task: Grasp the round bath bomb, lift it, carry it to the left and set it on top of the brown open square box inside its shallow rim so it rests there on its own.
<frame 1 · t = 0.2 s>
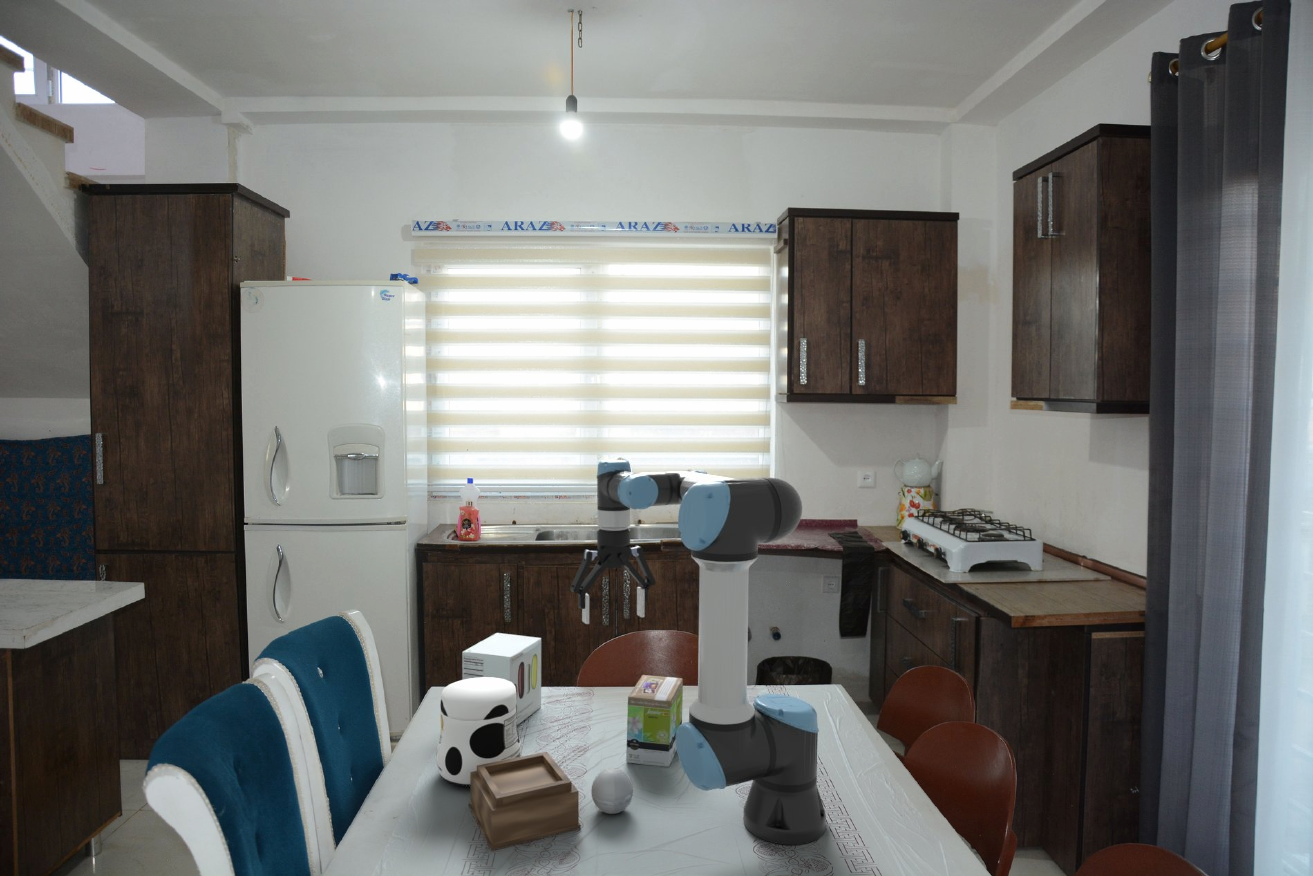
hand: (613, 619, 187), 28 cm above the table, fingers open, 13 cm apart
milk container: (479, 775, 170), on the table
bath bomb: (612, 812, 155), on the table
supplement box: (503, 716, 201), on the table
brown open square box: (523, 817, 152), on the table
tea box: (655, 752, 181), on the table
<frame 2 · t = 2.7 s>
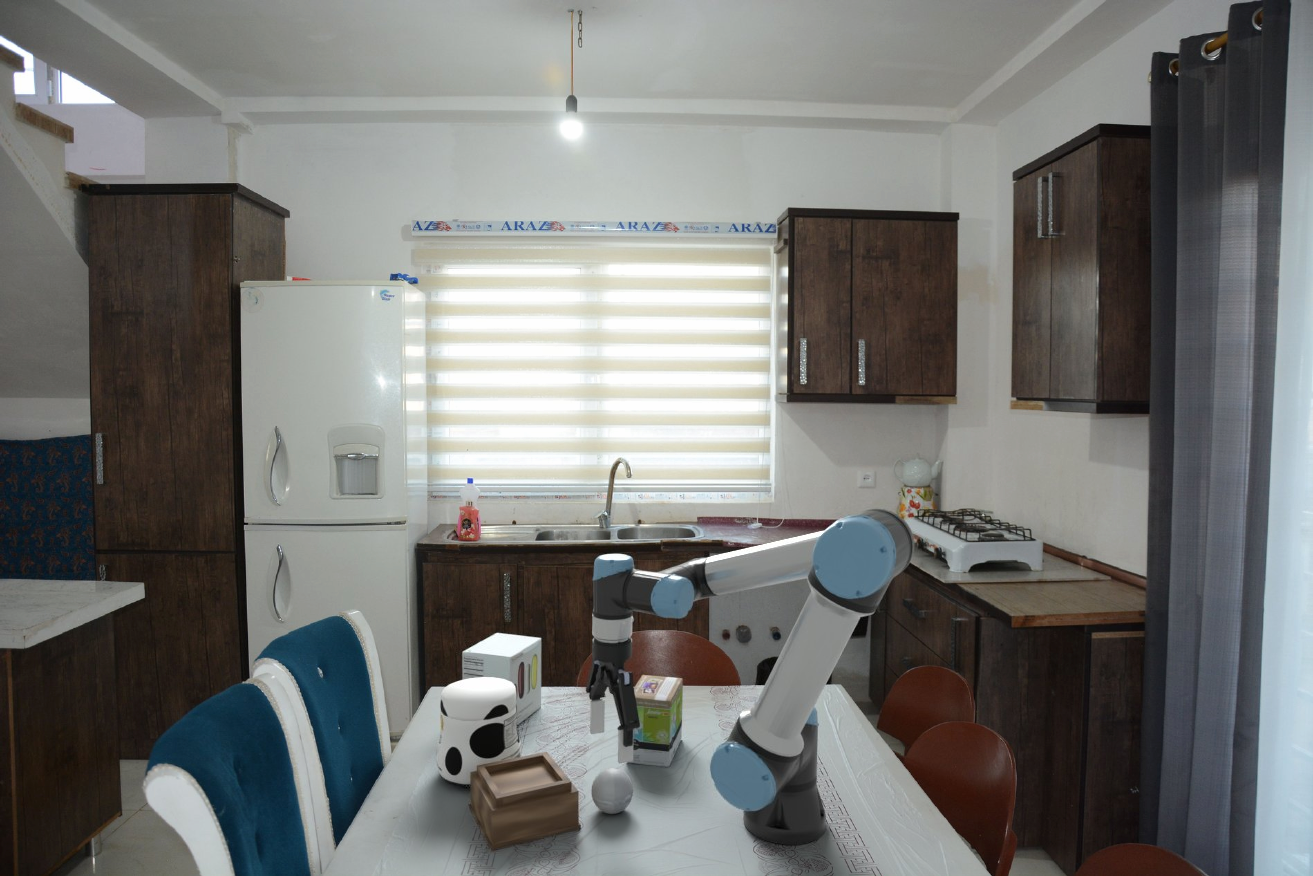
hand: (610, 746, 154), 12 cm above the table, fingers open, 13 cm apart
nothing on the table moved.
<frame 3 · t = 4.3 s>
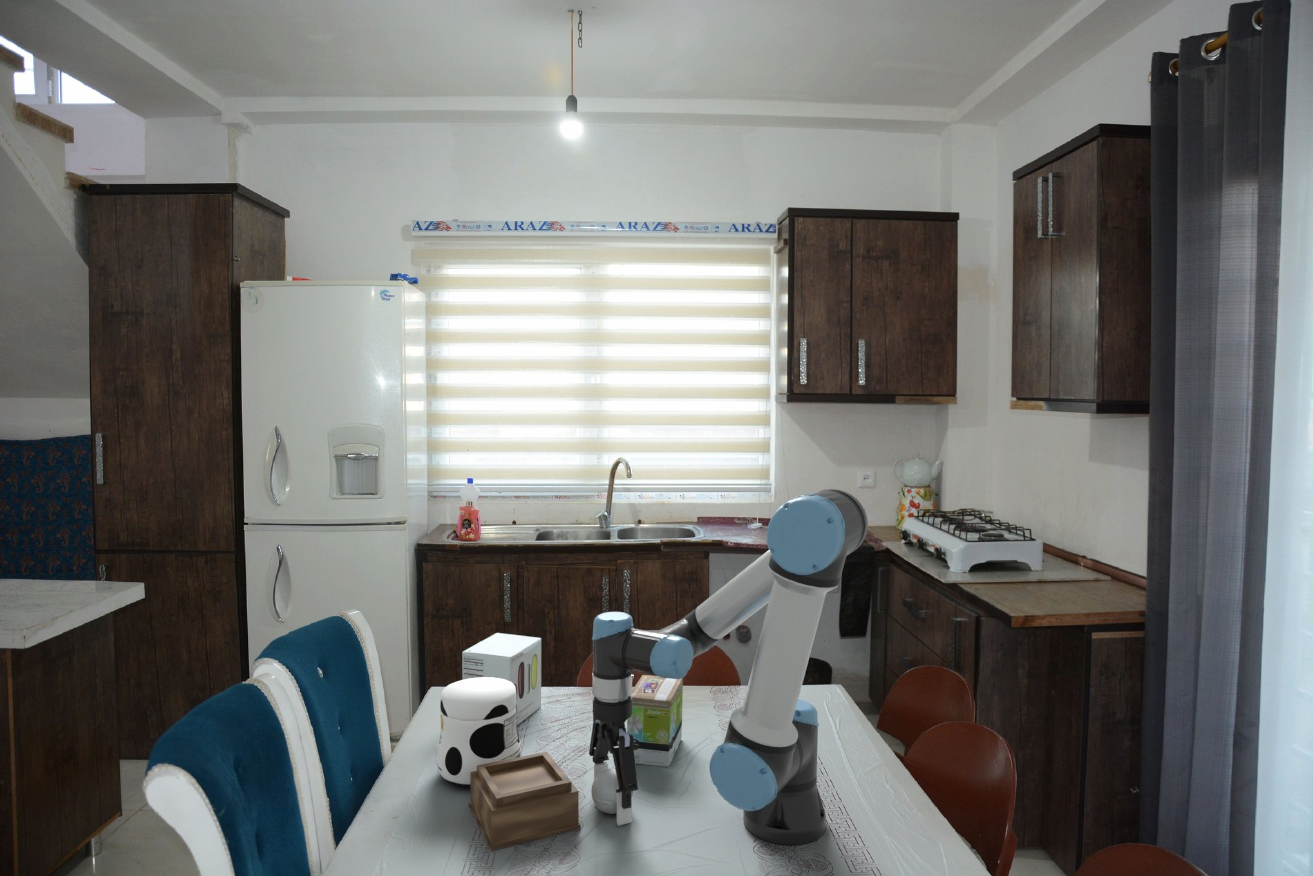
hand: (612, 809, 155), 0 cm above the table, fingers open, 10 cm apart
nothing on the table moved.
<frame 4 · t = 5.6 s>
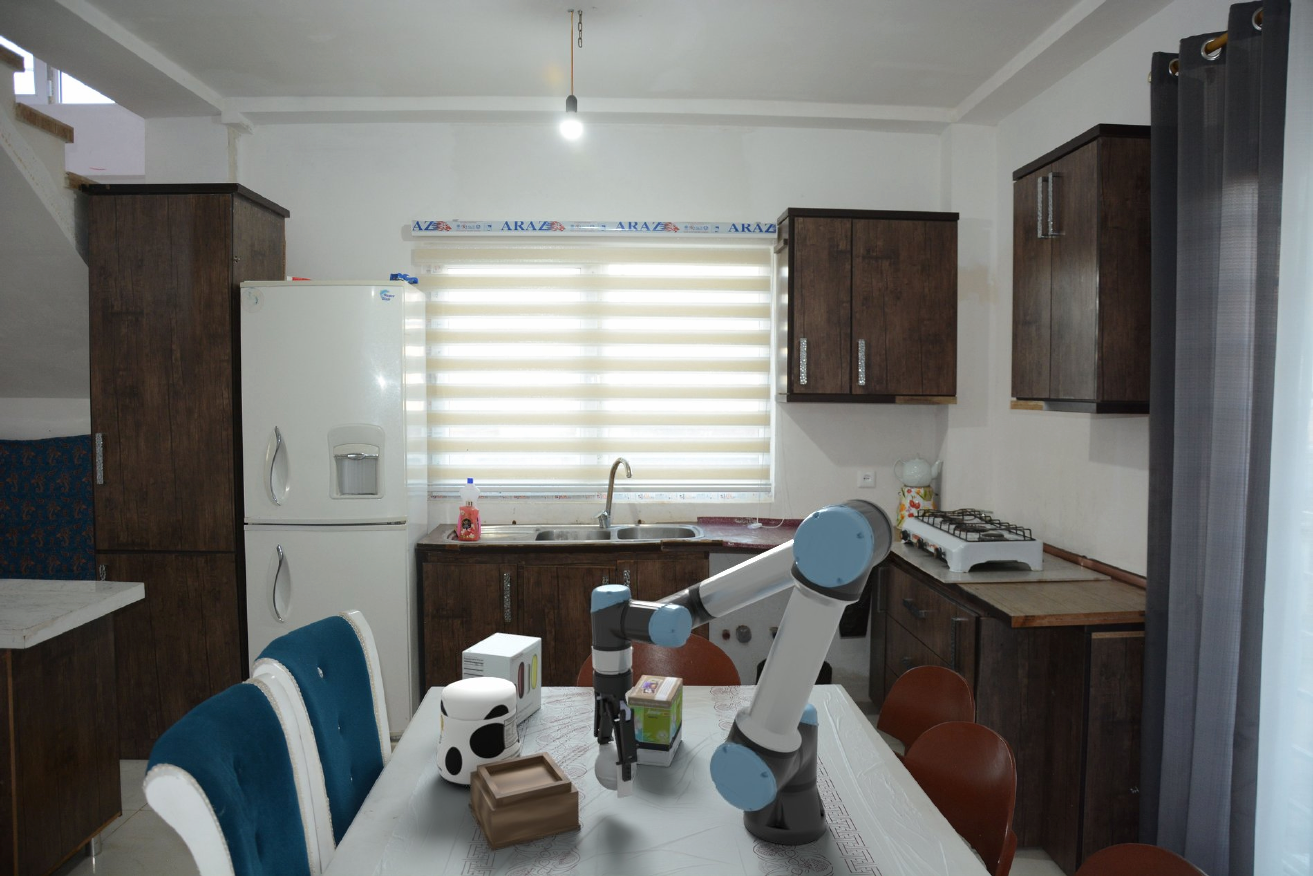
hand: (615, 786, 154), 5 cm above the table, fingers closed on bath bomb, 8 cm apart
bath bomb: (616, 789, 154), point 4 cm above the table, touching gripper
everything else where it was.
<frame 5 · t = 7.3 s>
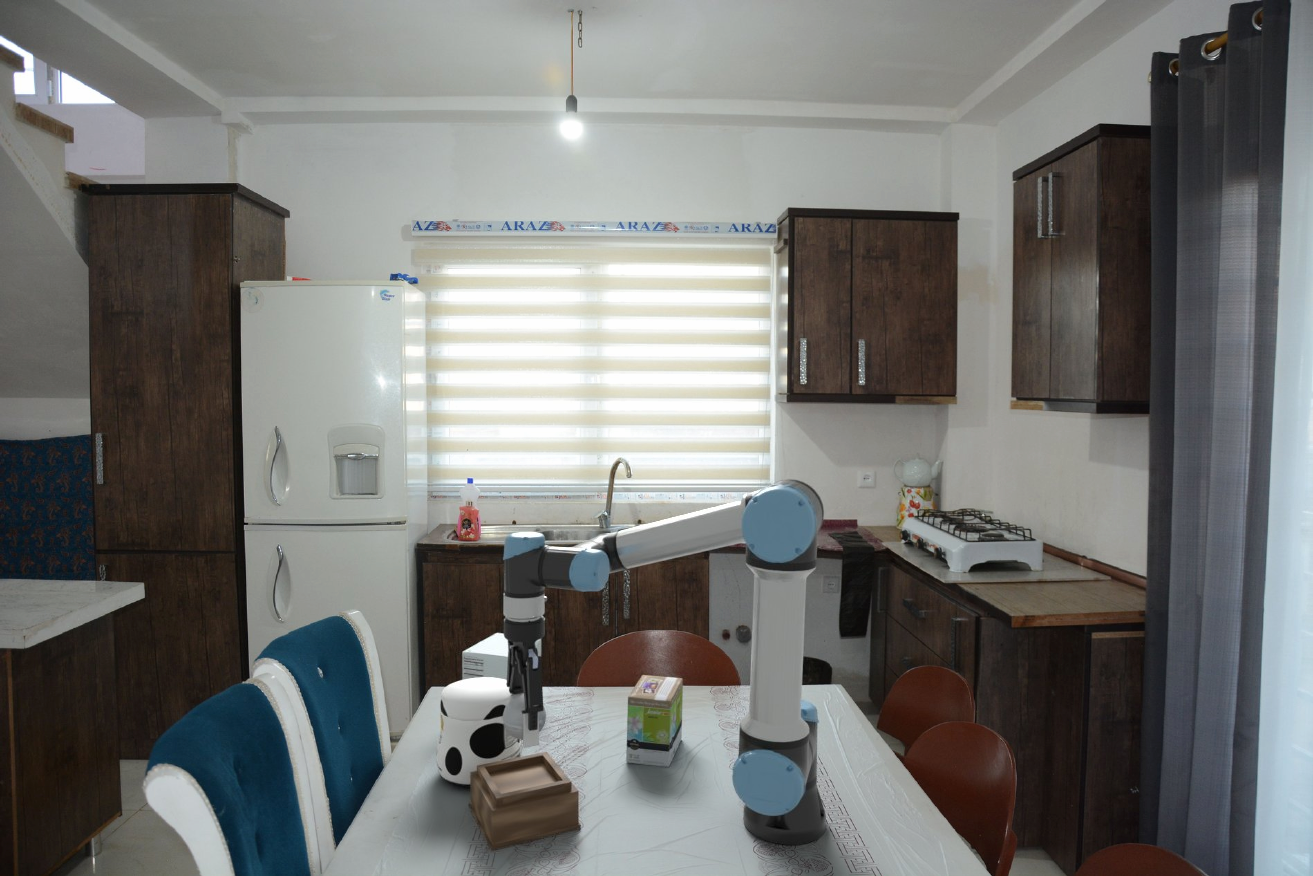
hand: (524, 736, 152), 16 cm above the table, fingers closed on bath bomb, 8 cm apart
bath bomb: (524, 738, 152), point 15 cm above the table, touching gripper
everything else where it was.
when the fingers open (8 cm above the table, at t = 9.4 s): bath bomb stays where it is, resting on brown open square box.
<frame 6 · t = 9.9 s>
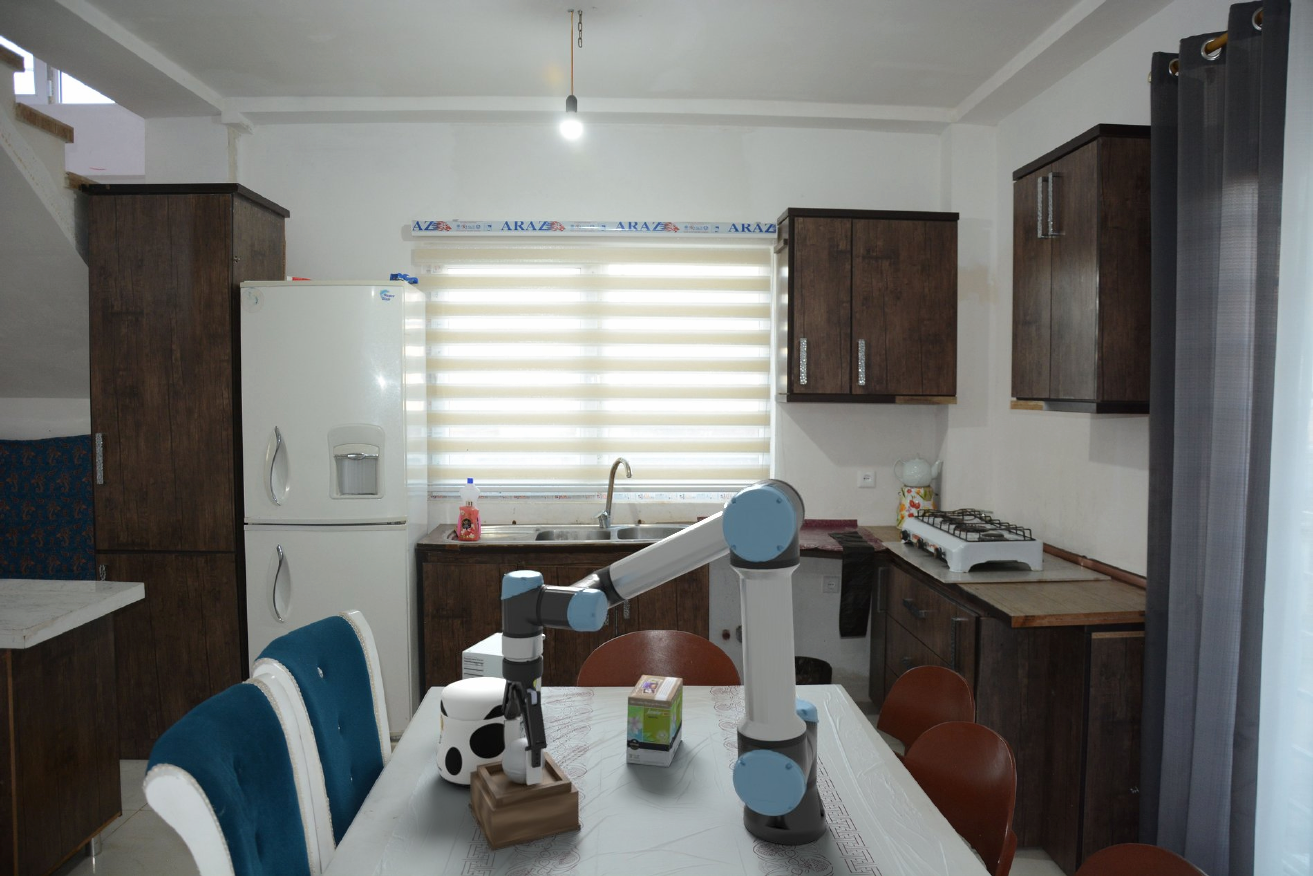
hand: (523, 767, 152), 10 cm above the table, fingers open, 13 cm apart
bath bomb: (523, 782, 152), point 7 cm above the table, touching brown open square box
everything else where it was.
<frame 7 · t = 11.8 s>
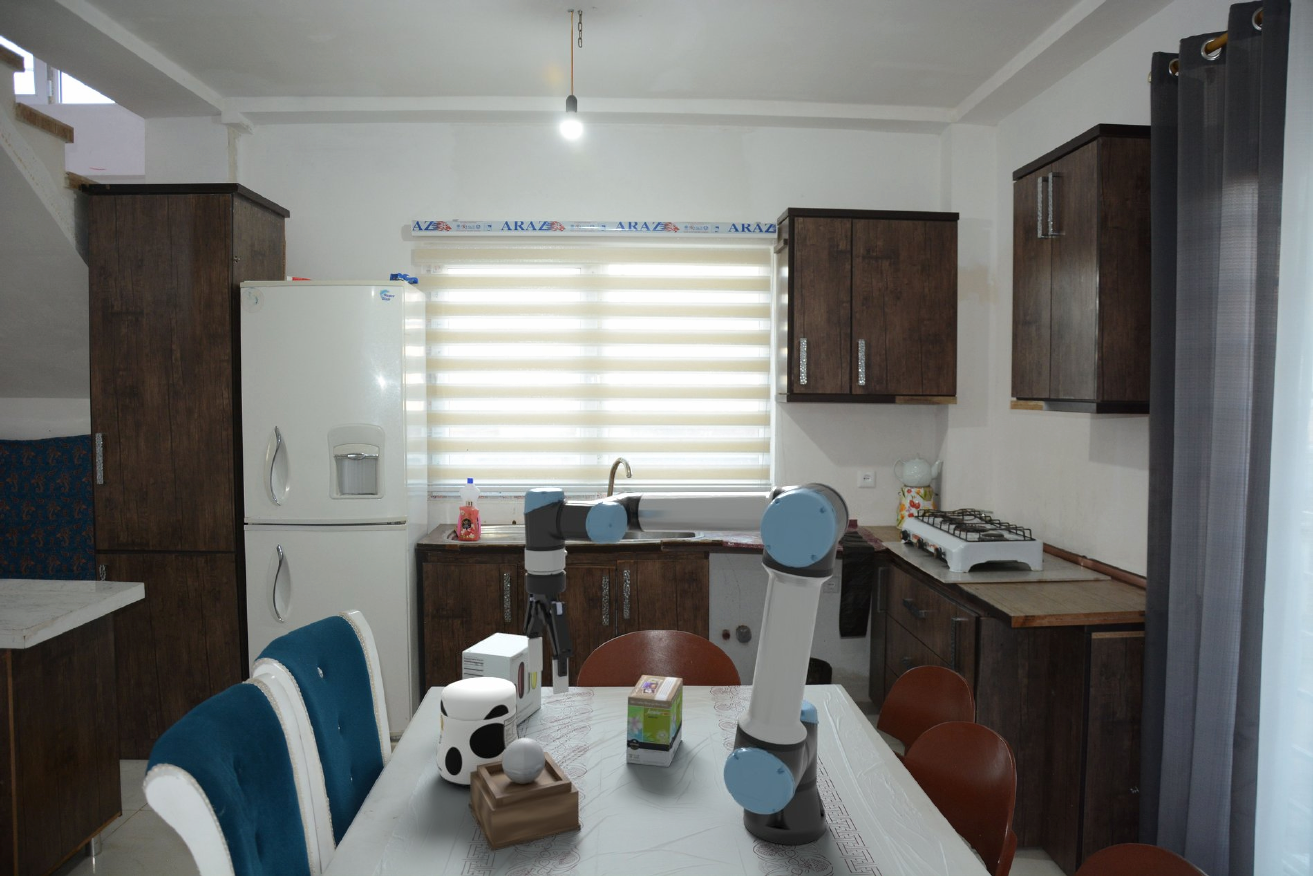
hand: (547, 681, 154), 25 cm above the table, fingers open, 13 cm apart
nothing on the table moved.
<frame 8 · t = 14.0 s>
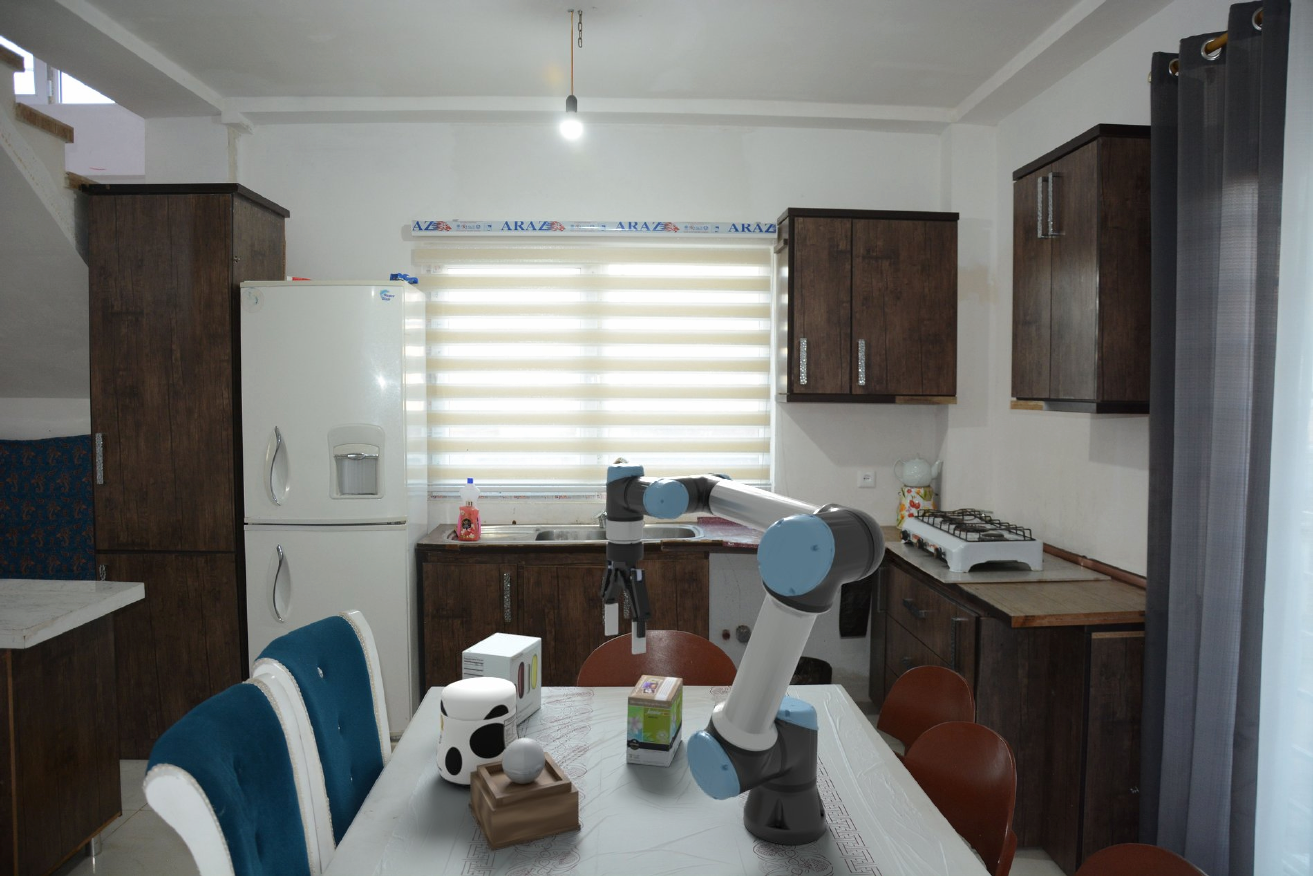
hand: (624, 643, 165), 29 cm above the table, fingers open, 13 cm apart
nothing on the table moved.
at the end: bath bomb inside the target area on the brown open square box (0.1 cm from its centre), point 6.8 cm above the brown open square box's base; bath bomb touching brown open square box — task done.
